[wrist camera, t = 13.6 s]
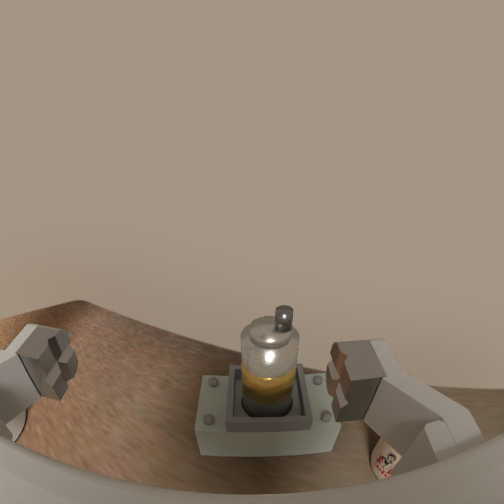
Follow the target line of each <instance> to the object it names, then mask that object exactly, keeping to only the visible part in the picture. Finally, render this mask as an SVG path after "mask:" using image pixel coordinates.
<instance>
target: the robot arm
mask: <svg viewBox="0 0 504 504" xmlns="http://www.w3.org/2000/svg"><path fill="white" fill-rule="evenodd" d="M69 343H70V338H69V335H68V333H67V331H65V330H63V329H59V328H53V327H48V326H44V325H38V324H33V323H30V324H27V325H26V326H25V327H24V328H23V330H22V331H21V332H20V333H19V334H18V335H17V337H16V338H15V339H14V340H13V341H12V342H11V344H10V345H9V346H8V347H7V348H6V350H5V351H4V350H1V351H0V504H504V433H502V434H500V435H498V436H496V437H494V438H492V439H490V440H488V441H485V439H484V437H483V435H482V433H481V431H480V430H479V428H478V426H477V424H476V422H475V421H474V419H473V417H472V415H471V414H470V412H469V410H468V409H466V408H465V407H463V406H461V405H460V404H458V403H456V402H455V401H453V400H451V399H449V398H448V397H446V396H444V395H443V394H441V393H439V392H438V391H436V390H434V389H433V388H431V387H429V386H428V385H426V384H424V383H423V382H421V381H419V380H418V379H416V378H415V377H413V376H411V375H409V374H403V372H402V370H401V368H400V366H399V364H398V363H397V361H396V359H395V357H394V355H393V354H392V352H391V350H390V348H389V346H388V345H387V343H386V341H385V340H384V339H383V338H377V339H368V340H360V341H347V342H334V344H333V345H332V349H331V352H330V353H331V356H332V361H331V362H329V363H328V365H327V370H326V387H327V391H328V394H329V395H330V396H332V397H333V401H332V404H331V407H332V411H333V414H334V418H335V422H346V421H355V420H363V419H364V420H363V421H364V422H365V423H366V424H367V425H368V426H369V427H370V428H371V429H372V430H373V431H374V432H376V433H377V434H378V435H379V436H380V437H381V438H382V439H383V440H384V441H385V442H386V443H387V444H388V445H390V446H391V447H392V448H393V449H394V450H395V451H396V452H397V453H398V454H399V455H400V456H402V457H401V459H400V460H399V461H398V462H397V464H396V465H395V466H394V467H393V468H392V470H391V471H390V474H391V477H387V478H383V479H379V480H375V481H371V482H366V483H361V484H356V485H351V486H345V487H339V488H332V489H325V490H317V491H308V492H298V493H284V494H255V495H245V494H216V493H202V492H192V491H183V490H175V489H168V488H161V487H155V486H149V485H144V484H139V483H134V482H130V481H125V480H121V479H117V478H113V477H109V476H105V475H101V474H98V473H94V472H91V471H88V470H85V469H81V468H78V467H75V466H72V465H69V464H67V463H64V462H61V461H58V460H56V459H53V458H50V457H48V456H45V455H43V454H41V453H38V452H36V451H34V450H31V449H29V448H27V447H25V446H22V445H20V444H18V443H16V442H14V441H15V440H16V439H17V438H18V436H19V435H20V433H21V431H22V429H23V426H24V423H25V418H26V410H25V409H27V408H28V407H29V406H31V405H32V404H33V403H34V402H36V401H37V400H38V399H40V398H41V396H43V397H46V398H50V399H54V400H57V401H61V399H62V397H63V395H64V394H65V392H66V390H67V388H68V384H67V381H69V380H70V379H72V378H73V377H74V375H75V373H76V371H77V365H78V361H77V356H76V353H75V351H74V349H73V348H72V347H71V346H70V345H69Z"/></svg>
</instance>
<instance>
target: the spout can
mask: <svg viewBox="0 0 504 504" xmlns="http://www.w3.org/2000/svg"><path fill="white" fill-rule="evenodd" d="M292 319H293V309H292V308H291V307H289V306H285V305H283V306H279V307H277V308H276V312H275V316H264V317H260V318H257V319H255V320H254V321H253V322H252V323H251V324H249V325H248V326H246V327H245V328H244V330H243V331H242V333H241V379H242V397H243V406H244V408H245V410H246V411H247V412H248V413H249V414H250V415H252V416H253V417H281V416H282V415H284V414H285V413H286V412H287V411H288V410H289V408H290V405H291V399H292V392H293V388H294V380H295V373H296V365H297V354H298V345H299V334H298V332H297V330H296V329H295V328H294V327H293V326H292Z"/></svg>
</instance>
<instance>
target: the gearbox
mask: <svg viewBox="0 0 504 504" xmlns="http://www.w3.org/2000/svg"><path fill="white" fill-rule="evenodd" d="M332 401H333V397H332V396H330V395H329V394H328V391H327V387H326V373H319V374H304V371H303V366H302V364H297V365H296V373H295V380H294V388H293V392H292V399H291V405H290V408H289V410H288V411H287V412H286V413H285V414H284V415H282V416H281V417H253V416H252V415H250V414H249V413H248V412H247V411H246V410H245V408H244V406H243V397H242V379H241V365H229V376H217V375H203V378H202V385H201V391H200V397H199V403H198V410H197V416H196V423H195V429H194V431H195V435H196V439H197V442H198V446H199V450H200V453H201V455H208V456H231V457H267V456H289V455H303V454H314V453H323V452H331V450H332V448H333V445H334V443H335V441H336V438H337V436H338V433H339V431H340V428H341V424H340V422H335V418H334V414H333V411H332V407H331V404H332Z"/></svg>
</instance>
